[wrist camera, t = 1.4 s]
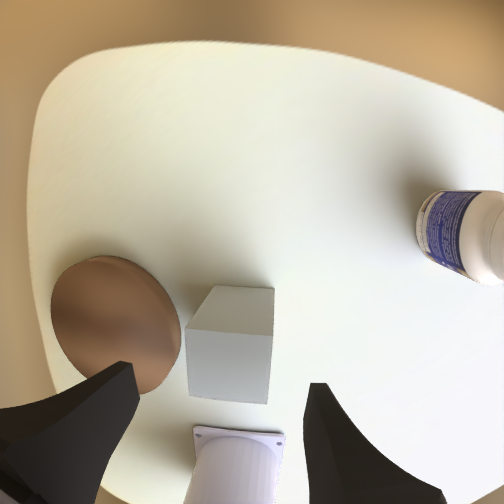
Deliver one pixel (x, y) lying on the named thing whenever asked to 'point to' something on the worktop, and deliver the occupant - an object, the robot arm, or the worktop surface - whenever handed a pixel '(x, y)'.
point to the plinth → (116, 320)
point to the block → (231, 345)
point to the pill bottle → (464, 233)
